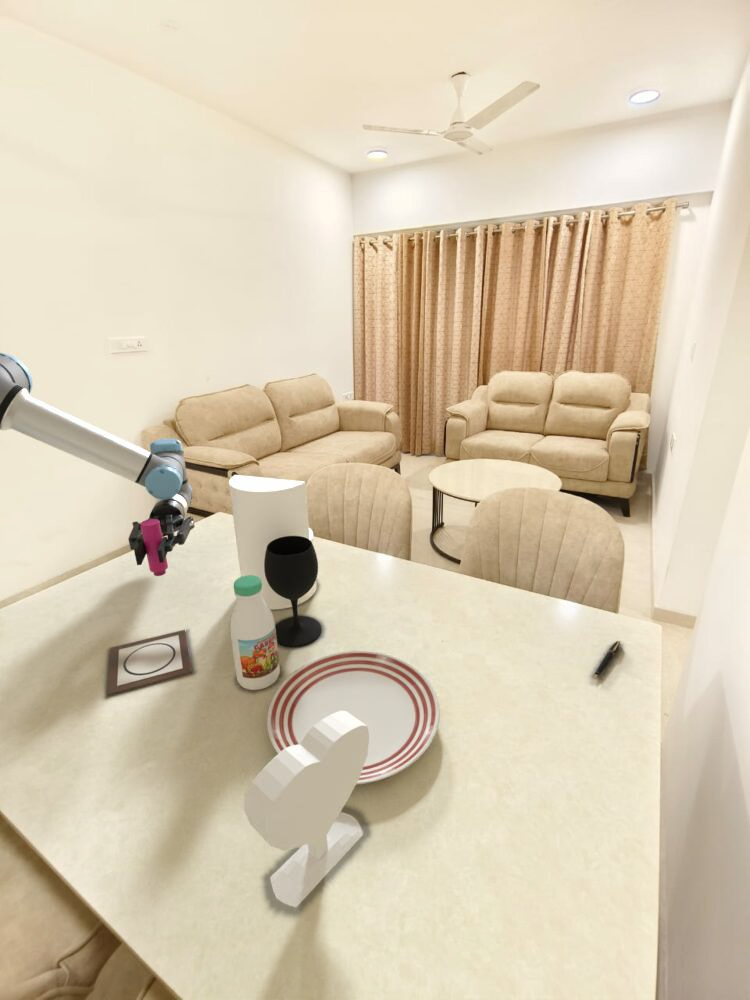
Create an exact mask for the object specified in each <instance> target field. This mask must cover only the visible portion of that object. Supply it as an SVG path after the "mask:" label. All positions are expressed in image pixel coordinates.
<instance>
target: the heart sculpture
mask: <svg viewBox="0 0 750 1000" xmlns="http://www.w3.org/2000/svg"><path fill="white" fill-rule="evenodd" d="M368 746H369V732H368V727H367V725H365V724H364V723H362V722H361V721H360V720H358V719H357V718H355V717H354V716H352V715H351V714H350V713H348V712H347V711H338V712H336V713H333V714H331V715H329V716H327V717H326V718H324V719H322V720H321V721H319V722H318V723H317V724H315V725H314V726H313V727H312V728H311V729H310V730H309V732H308V733H307V734H306V736H305V737H304V739H303V740H302V742H301V743H300V744H298V745H293V746H289V747H287V748H285V749H283V750H282V751H281V752H280V753H279V754H277V753H276V755H275V756H274V757H273V758H272V759H271V760H270V761H269V762H268V763H267V764H265V766H263V768H262V769H261V770H260V772H258V773H257V775H256V776H255V777H254V778H253V779H252V781H251V782H250V784H249V786H248V788H247V790H246V791H245V792H244V802H243V803H244V804H243V806H244V807H243V810H244V811H243V812H244V814H245V816H246V818H247V820H248V823H249V825H250V826H251V827H252V828H253V829H254V830H255V831H256V833H257V834H259V836H260V837H261V838H262V839H263V840H264V841H265V842H266V843H267V844H268V845H269V847H272V848H275V849H278V850H280V851H289V850H292V849H297V848H298V849H297V850H296V851H295V852H294V853H293V854H292V855H291V856H290V857H289V858H288V859H287V860H286V861H285V862H284V863H283V864H282V865H281V866H280V867H279V868H278V869H277V870H276V871H275V872H274V873H273V874H272V875H270V879H269V880H270V885H271V886H272V891H273V893H274V895H275V899H277V900H279V902H281V903H283V904H284V905H288V907H293V908H297V907H298V906H299V905H300V904H301V903H302V901H304V900H305V899H306V897H307V896H308V895H309V894H310V893H311V892H312V891H313V890H314V889H315V888H316V886H317V885H319V883H320V882H321V881H322V880H323V879H324V878H325V877H326V876H327V874H328V873H330V871H331V870H332V869H333V868H334V867H335V866H336V865H337V864H338V863H339V861H340V860H341V859H342V858H343V857H344V856H345V855H346V854H347V853H348V852H349V850H351V848H352V847H354V845H355V844H356V843H357V842H358V841H359V840H360V839H361V837H363V835H364V832H363V828H362V827H361V825H360V823H359V821H358V820H357V819H356V817H354V816H352V815H351V814H348V813H346V812H343V811H342V810H343V809H344V807H345V805H346V804H347V802H348V800H349V799H350V797H351V795H352V793H353V791H354V789H355V787H356V783H357V781H358V779H359V778H360V775H361V772H362V769H363V766H364V764H365V761H366V758H367V755H368Z"/></svg>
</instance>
